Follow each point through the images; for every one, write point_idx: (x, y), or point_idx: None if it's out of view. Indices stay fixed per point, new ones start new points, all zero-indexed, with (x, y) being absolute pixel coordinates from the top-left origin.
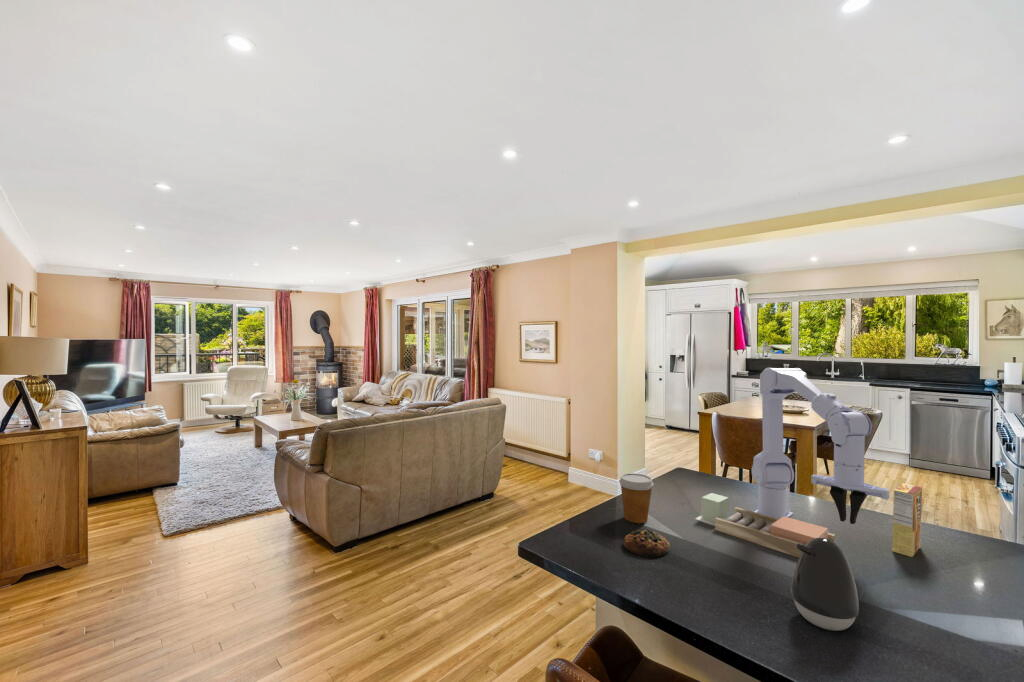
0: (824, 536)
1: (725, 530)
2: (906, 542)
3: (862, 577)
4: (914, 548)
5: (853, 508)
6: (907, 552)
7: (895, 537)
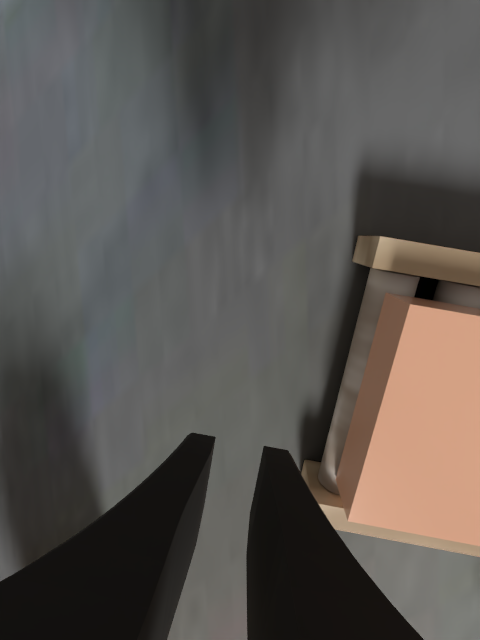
0: (357, 440)
1: None
2: None
3: (187, 220)
4: None
5: (131, 534)
6: None
7: None
